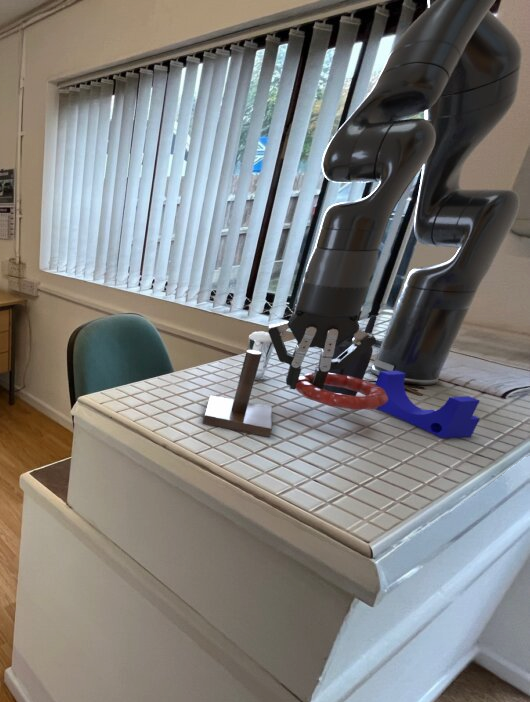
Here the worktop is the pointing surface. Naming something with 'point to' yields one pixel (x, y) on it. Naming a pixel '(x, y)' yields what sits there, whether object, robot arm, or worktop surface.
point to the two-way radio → (357, 366)
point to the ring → (370, 401)
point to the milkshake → (261, 350)
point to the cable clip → (442, 422)
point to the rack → (241, 404)
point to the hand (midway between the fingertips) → (302, 388)
